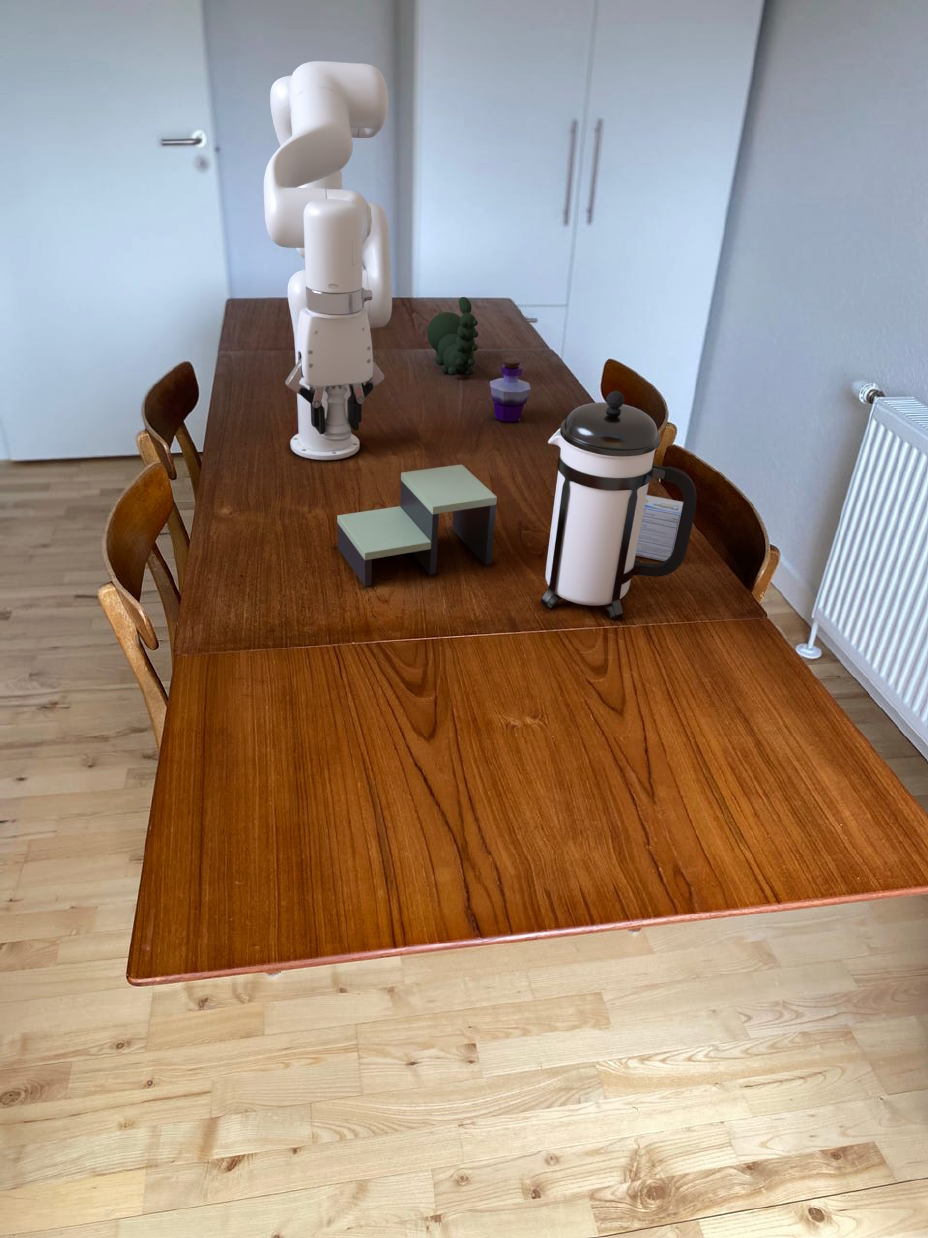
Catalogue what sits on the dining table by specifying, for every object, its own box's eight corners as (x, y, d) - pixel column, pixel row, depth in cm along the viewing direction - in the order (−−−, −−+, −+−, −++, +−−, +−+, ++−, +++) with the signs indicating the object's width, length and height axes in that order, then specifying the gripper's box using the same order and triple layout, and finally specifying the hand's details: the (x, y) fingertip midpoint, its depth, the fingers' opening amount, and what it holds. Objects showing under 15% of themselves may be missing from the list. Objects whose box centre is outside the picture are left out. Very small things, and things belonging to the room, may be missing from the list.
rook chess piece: (322, 429, 137) (320, 377, 132) (352, 430, 137) (352, 378, 133) (320, 441, 133) (318, 387, 129) (351, 442, 133) (351, 389, 129)
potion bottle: (515, 408, 194) (521, 351, 187) (535, 422, 188) (542, 364, 181) (479, 412, 191) (483, 354, 184) (498, 427, 184) (503, 368, 178)
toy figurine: (484, 390, 207) (456, 346, 225) (493, 306, 195) (462, 267, 214) (443, 392, 204) (418, 347, 223) (449, 307, 193) (423, 267, 211)
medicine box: (676, 551, 145) (686, 501, 140) (672, 564, 141) (682, 513, 136) (626, 541, 147) (635, 491, 142) (621, 553, 143) (630, 503, 138)
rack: (337, 547, 139) (336, 481, 133) (457, 528, 147) (461, 464, 141) (364, 587, 130) (364, 517, 124) (491, 563, 138) (497, 497, 132)
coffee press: (574, 637, 123) (606, 422, 106) (513, 580, 134) (535, 378, 118) (676, 611, 130) (722, 405, 114) (611, 558, 142) (644, 365, 125)
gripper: (383, 290, 130) (382, 414, 140) (265, 296, 124) (272, 425, 134) (403, 304, 125) (400, 432, 135) (280, 311, 118) (286, 445, 128)
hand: (336, 427), depth 134 cm, fingers closed on rook chess piece, 4 cm apart
